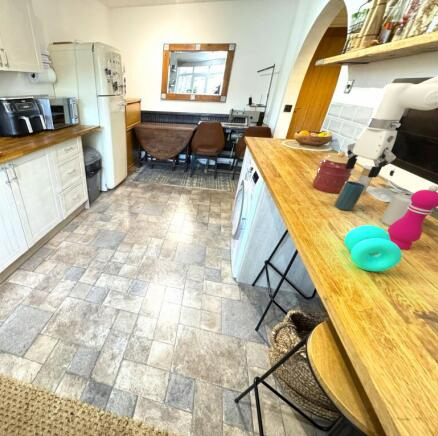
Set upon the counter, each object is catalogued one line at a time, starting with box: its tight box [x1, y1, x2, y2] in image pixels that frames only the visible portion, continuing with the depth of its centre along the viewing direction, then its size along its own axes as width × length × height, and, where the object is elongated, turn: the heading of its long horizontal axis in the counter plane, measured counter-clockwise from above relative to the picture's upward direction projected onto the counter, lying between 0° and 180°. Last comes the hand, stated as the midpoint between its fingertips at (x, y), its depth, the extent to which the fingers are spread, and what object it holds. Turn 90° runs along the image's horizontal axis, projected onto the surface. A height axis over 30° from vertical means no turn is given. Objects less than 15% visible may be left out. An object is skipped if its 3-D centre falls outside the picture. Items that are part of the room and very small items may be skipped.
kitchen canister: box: [311, 151, 356, 194], centre depth 111 cm, size 13×13×18 cm
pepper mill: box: [387, 185, 438, 251], centre depth 71 cm, size 7×7×20 cm
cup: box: [333, 180, 366, 212], centre depth 95 cm, size 6×6×10 cm
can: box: [380, 190, 415, 228], centre depth 84 cm, size 8×8×12 cm
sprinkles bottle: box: [356, 162, 375, 195], centre depth 108 cm, size 5×5×13 cm
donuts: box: [343, 224, 403, 273], centre depth 66 cm, size 10×10×10 cm
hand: (359, 172), depth 90 cm, fingers open, 9 cm apart
